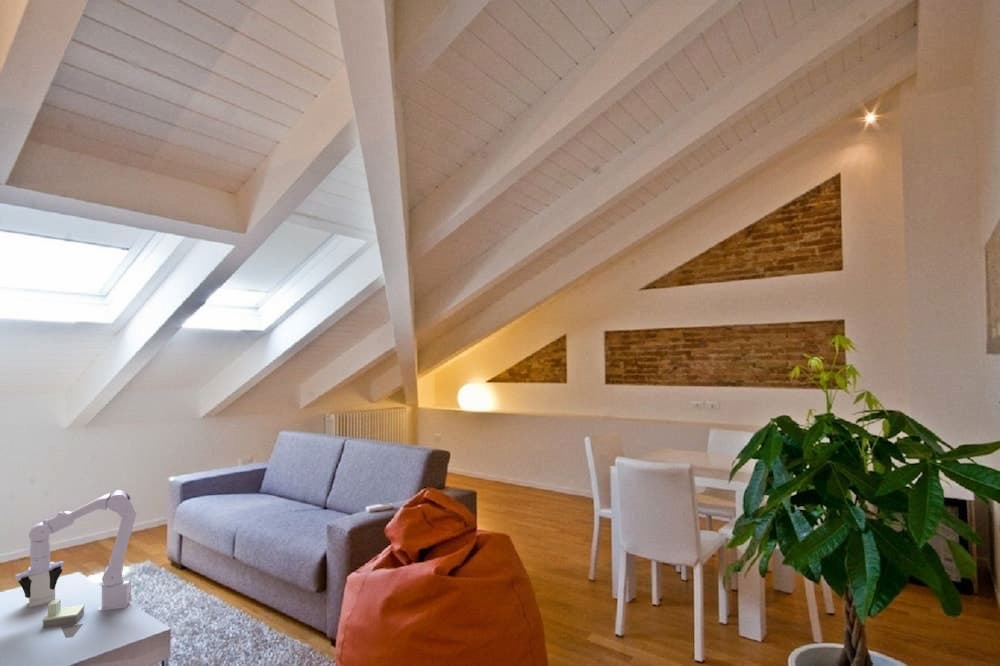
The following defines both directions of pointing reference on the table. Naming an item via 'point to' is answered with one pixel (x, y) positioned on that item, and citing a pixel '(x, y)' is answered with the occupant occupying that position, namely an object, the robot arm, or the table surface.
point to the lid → (61, 610)
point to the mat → (70, 630)
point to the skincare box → (41, 589)
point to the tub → (63, 620)
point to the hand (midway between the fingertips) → (40, 593)
